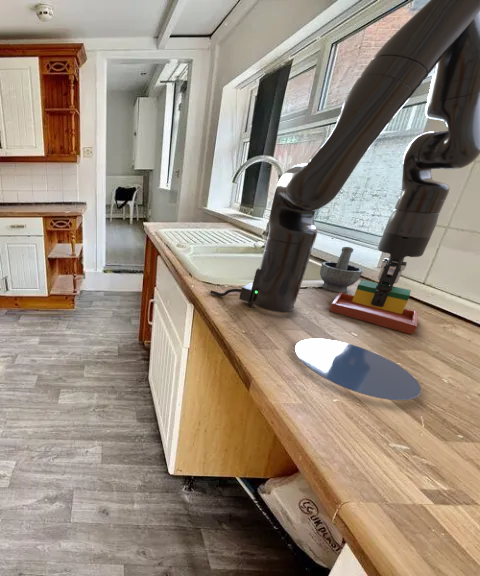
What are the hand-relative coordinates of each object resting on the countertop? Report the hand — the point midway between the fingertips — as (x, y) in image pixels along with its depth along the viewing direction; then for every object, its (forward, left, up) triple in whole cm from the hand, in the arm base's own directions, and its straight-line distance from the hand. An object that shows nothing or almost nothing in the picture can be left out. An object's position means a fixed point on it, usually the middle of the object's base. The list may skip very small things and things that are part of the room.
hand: (378, 301), depth 73 cm
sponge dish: (0, 0, -4) cm, 4 cm away
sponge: (0, 0, -1) cm, 1 cm away
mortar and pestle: (-10, +16, -4) cm, 19 cm away
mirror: (0, -33, -4) cm, 33 cm away
